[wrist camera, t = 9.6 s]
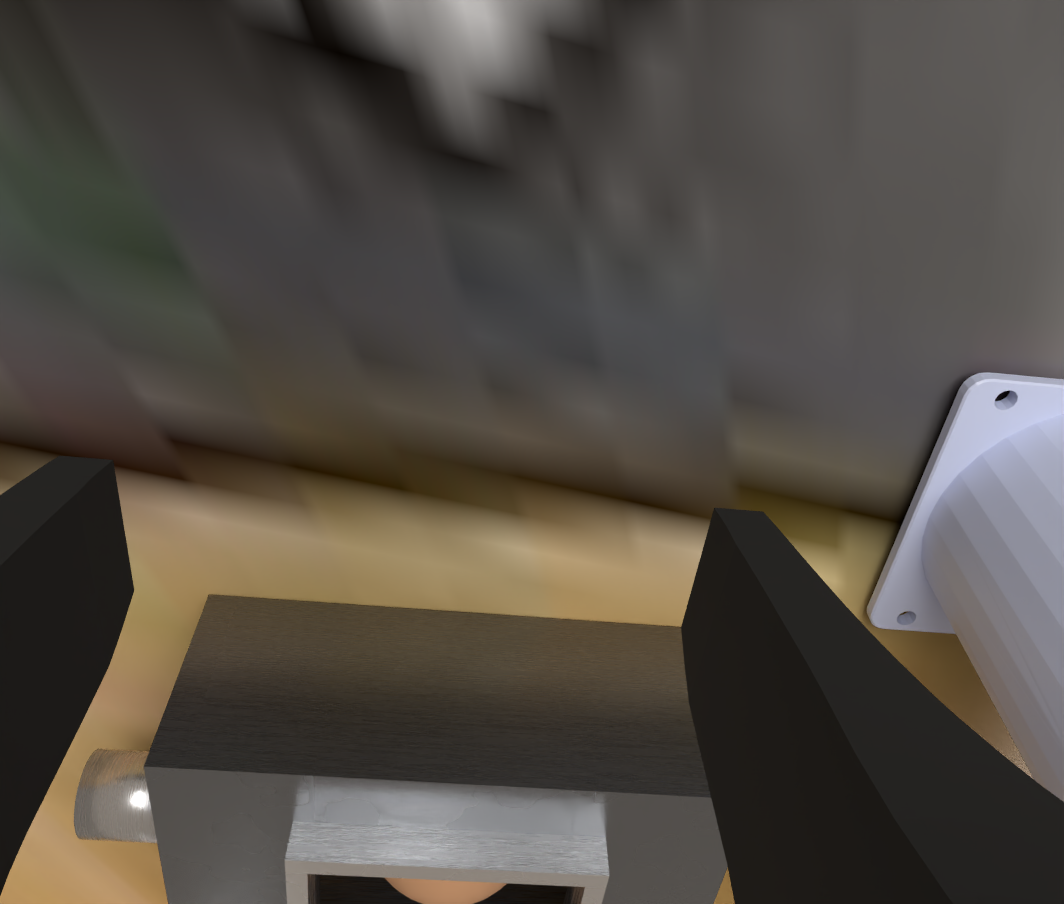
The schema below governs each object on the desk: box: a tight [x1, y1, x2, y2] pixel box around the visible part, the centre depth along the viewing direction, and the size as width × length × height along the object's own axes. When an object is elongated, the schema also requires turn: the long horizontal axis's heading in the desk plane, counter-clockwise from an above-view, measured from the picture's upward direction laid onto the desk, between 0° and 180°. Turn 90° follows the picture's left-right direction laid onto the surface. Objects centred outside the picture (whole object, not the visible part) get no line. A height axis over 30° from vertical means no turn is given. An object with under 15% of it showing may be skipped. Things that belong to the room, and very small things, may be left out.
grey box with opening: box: [74, 595, 728, 904], centre depth 27 cm, size 17×11×7 cm, turn 84°
